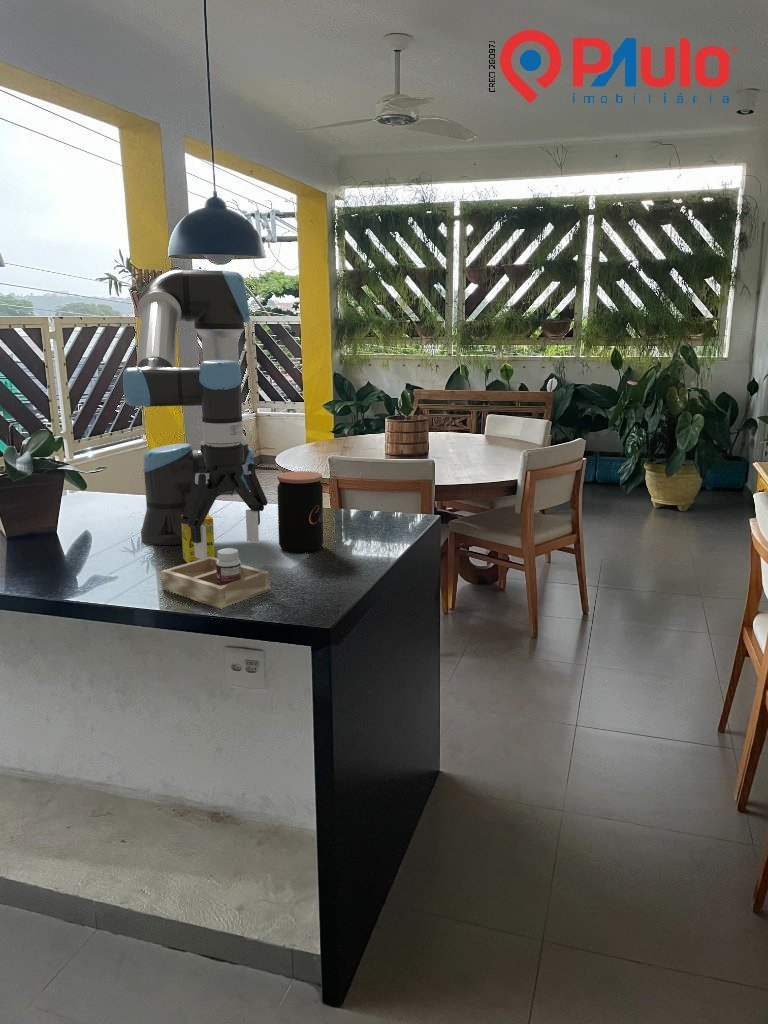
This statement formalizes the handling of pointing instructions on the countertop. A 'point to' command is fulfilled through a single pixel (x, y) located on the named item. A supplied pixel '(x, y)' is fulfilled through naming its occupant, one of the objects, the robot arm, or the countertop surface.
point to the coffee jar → (300, 511)
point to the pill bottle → (228, 566)
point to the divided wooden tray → (213, 583)
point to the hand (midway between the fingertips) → (227, 549)
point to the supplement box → (189, 545)
